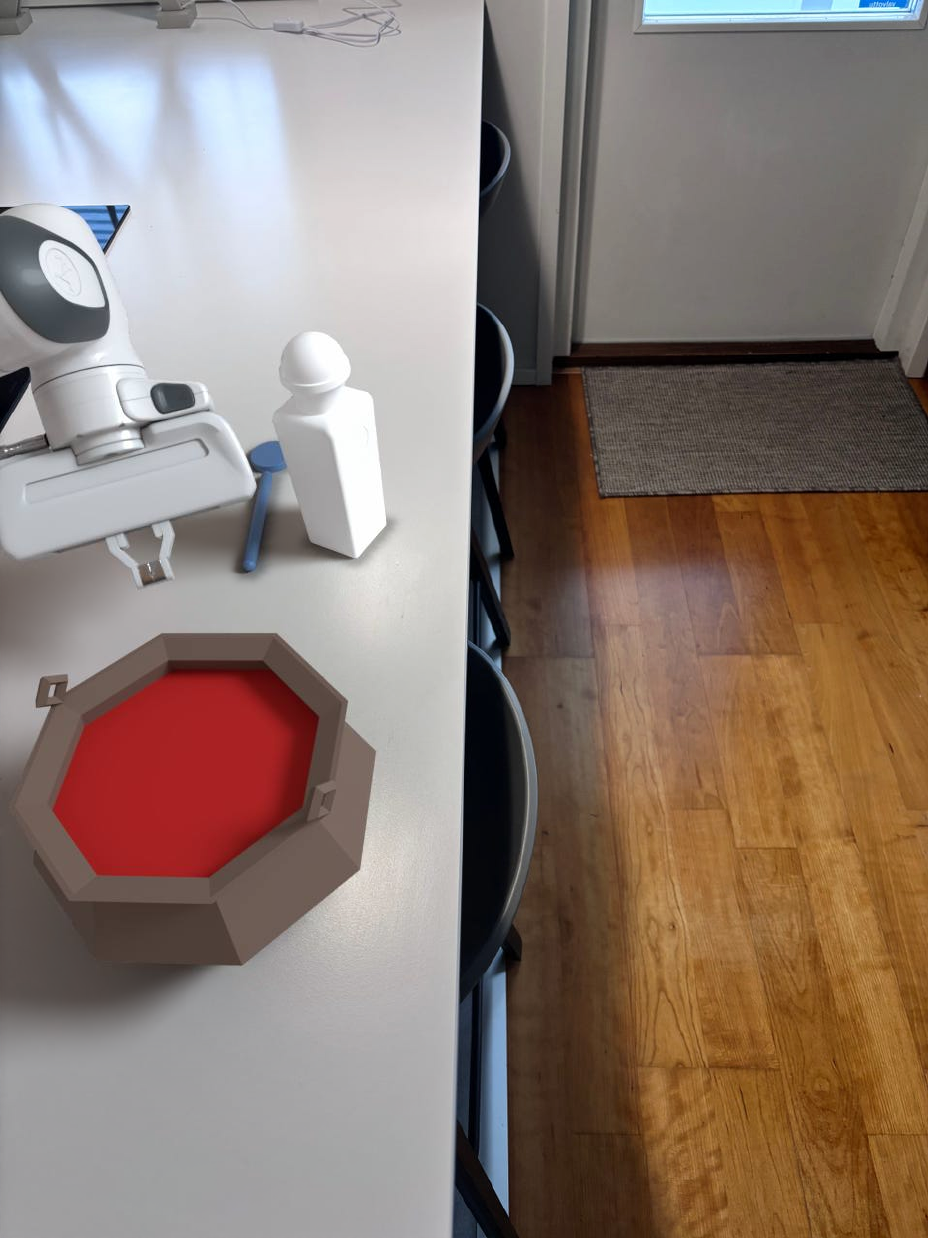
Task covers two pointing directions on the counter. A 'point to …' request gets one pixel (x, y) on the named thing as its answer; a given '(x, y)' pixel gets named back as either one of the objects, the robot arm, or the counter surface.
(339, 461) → the white square bottle
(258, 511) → the spoon
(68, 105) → the counter surface
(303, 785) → the octagonal pot
